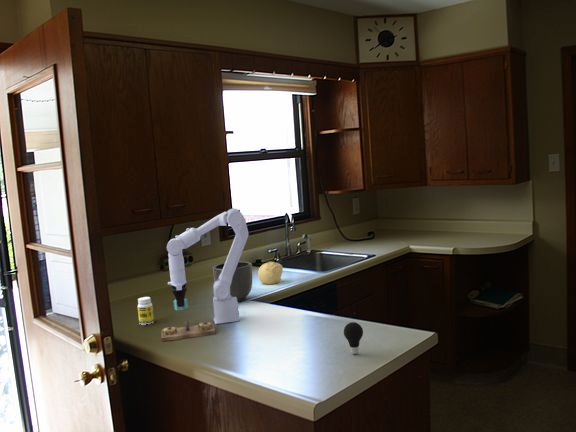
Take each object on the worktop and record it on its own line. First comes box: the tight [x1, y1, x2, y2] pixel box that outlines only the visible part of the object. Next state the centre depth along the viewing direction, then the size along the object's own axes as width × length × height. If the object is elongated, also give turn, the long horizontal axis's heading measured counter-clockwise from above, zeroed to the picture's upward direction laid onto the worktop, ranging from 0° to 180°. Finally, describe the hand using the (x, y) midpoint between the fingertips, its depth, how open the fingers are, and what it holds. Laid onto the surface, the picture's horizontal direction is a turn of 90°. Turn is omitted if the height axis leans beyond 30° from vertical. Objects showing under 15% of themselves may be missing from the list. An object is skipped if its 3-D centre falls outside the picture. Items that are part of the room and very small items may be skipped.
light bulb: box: [343, 321, 364, 355], centre depth 167 cm, size 6×6×10 cm
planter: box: [212, 260, 253, 303], centre depth 244 cm, size 17×17×16 cm
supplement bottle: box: [137, 296, 155, 326], centre depth 220 cm, size 6×6×10 cm
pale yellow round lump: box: [257, 261, 284, 285], centre depth 273 cm, size 12×12×11 cm
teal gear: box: [173, 297, 189, 311], centre depth 212 cm, size 5×5×3 cm
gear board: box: [160, 320, 216, 342], centre depth 202 cm, size 19×10×5 cm, turn 103°
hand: (180, 304), depth 212 cm, fingers closed on teal gear, 5 cm apart
